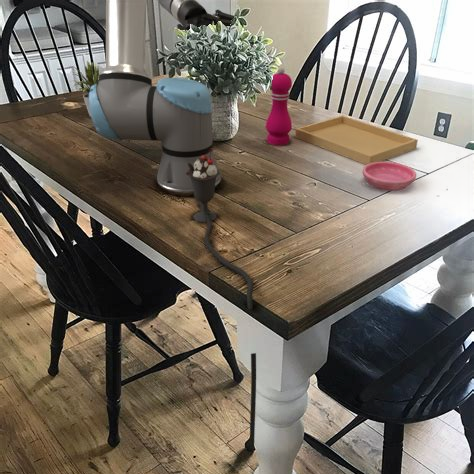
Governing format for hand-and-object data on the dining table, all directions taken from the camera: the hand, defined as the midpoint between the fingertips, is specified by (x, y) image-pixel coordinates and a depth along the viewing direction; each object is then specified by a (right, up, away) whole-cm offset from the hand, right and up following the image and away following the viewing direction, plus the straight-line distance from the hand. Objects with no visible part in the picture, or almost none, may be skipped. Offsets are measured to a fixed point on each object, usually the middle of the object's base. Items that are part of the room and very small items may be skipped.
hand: (228, 49), depth 147 cm
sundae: (-4, -50, -30) cm, 58 cm away
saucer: (+38, -39, -16) cm, 57 cm away
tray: (+35, -23, +7) cm, 43 cm away
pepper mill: (+14, -23, +8) cm, 28 cm away
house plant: (-43, -8, +29) cm, 53 cm away
